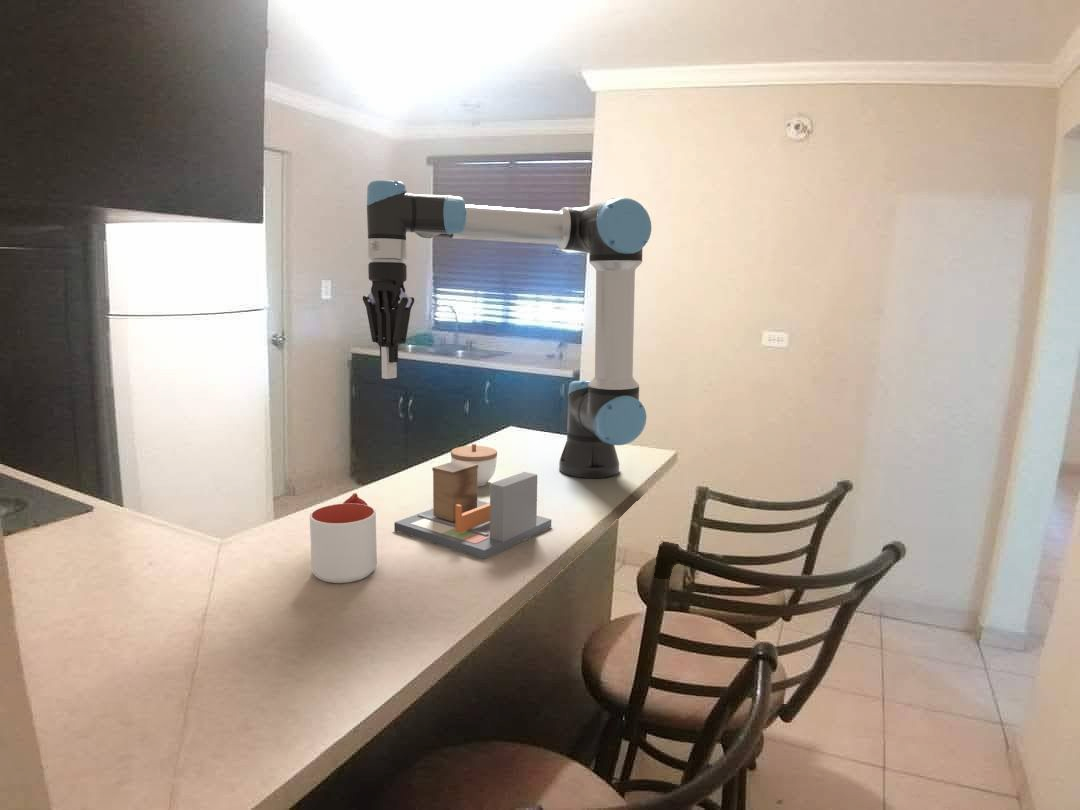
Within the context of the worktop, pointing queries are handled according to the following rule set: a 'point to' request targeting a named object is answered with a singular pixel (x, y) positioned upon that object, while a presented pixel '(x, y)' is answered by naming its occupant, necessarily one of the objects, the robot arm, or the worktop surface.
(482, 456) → the lidded jar
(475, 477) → the brown rectangular block
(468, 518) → the orange bracket
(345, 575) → the cup
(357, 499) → the onion
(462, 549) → the base
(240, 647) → the worktop surface
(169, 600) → the worktop surface
